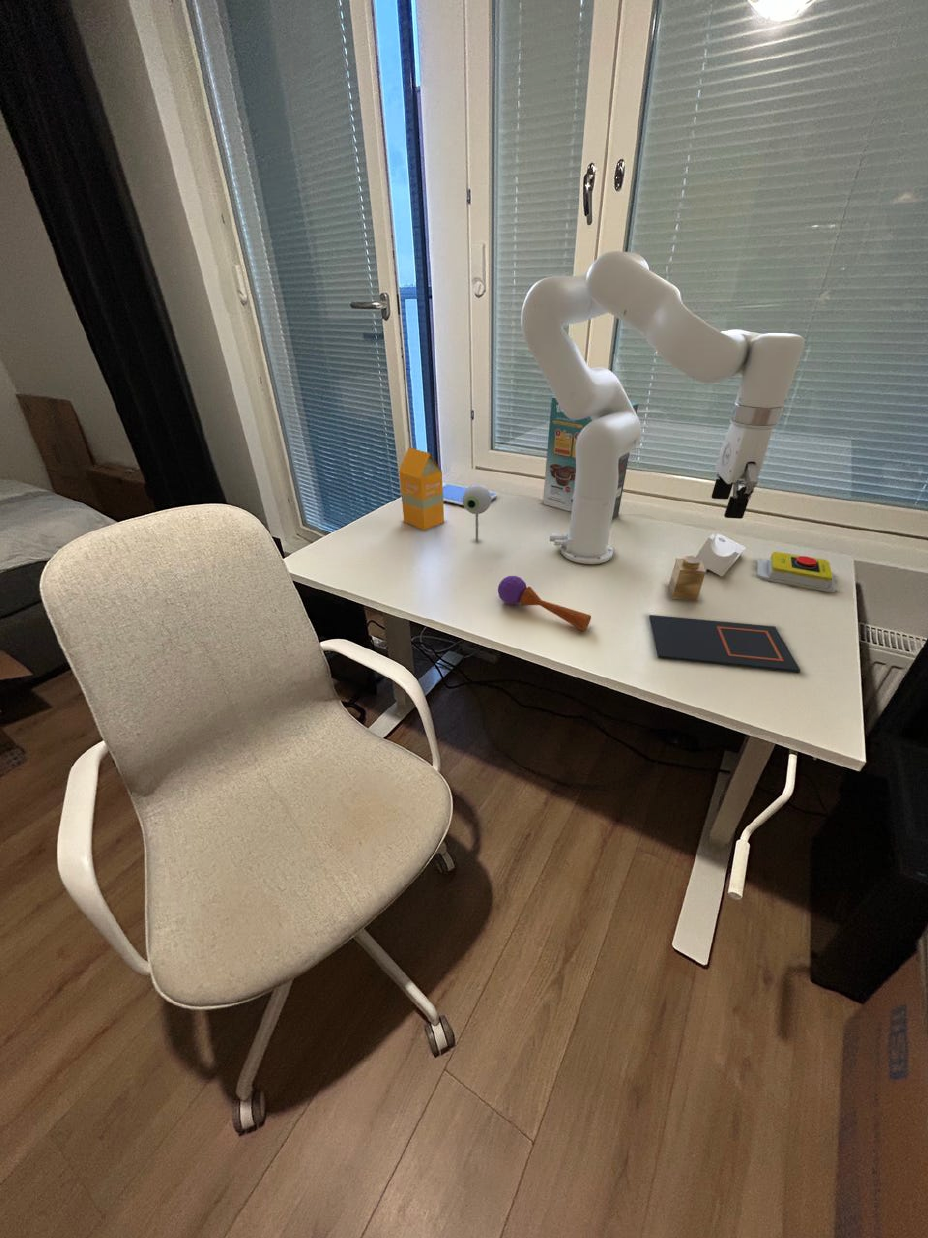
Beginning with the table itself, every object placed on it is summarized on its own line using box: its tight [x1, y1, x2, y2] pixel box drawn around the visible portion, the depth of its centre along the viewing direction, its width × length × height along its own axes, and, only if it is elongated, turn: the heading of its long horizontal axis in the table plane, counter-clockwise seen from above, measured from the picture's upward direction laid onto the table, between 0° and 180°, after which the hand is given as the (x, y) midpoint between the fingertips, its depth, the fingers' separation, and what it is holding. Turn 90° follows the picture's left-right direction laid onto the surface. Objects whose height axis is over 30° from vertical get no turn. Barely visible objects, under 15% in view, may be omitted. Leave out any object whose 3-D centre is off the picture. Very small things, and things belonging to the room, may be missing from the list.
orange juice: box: [398, 446, 445, 531], centre depth 130 cm, size 8×9×20 cm
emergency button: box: [756, 551, 837, 593], centre depth 107 cm, size 9×4×15 cm
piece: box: [668, 555, 707, 602], centre depth 101 cm, size 5×5×8 cm
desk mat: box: [649, 614, 801, 674], centre depth 89 cm, size 23×13×1 cm, turn 79°
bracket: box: [695, 532, 747, 577], centre depth 112 cm, size 13×7×8 cm, turn 138°
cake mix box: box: [542, 395, 639, 520], centre depth 134 cm, size 22×6×30 cm, turn 49°
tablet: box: [443, 483, 498, 506], centre depth 151 cm, size 19×13×1 cm, turn 57°
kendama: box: [497, 575, 592, 632], centre depth 96 cm, size 6×6×20 cm
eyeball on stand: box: [462, 484, 492, 543], centre depth 121 cm, size 7×7×15 cm
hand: (725, 507), depth 94 cm, fingers open, 9 cm apart
